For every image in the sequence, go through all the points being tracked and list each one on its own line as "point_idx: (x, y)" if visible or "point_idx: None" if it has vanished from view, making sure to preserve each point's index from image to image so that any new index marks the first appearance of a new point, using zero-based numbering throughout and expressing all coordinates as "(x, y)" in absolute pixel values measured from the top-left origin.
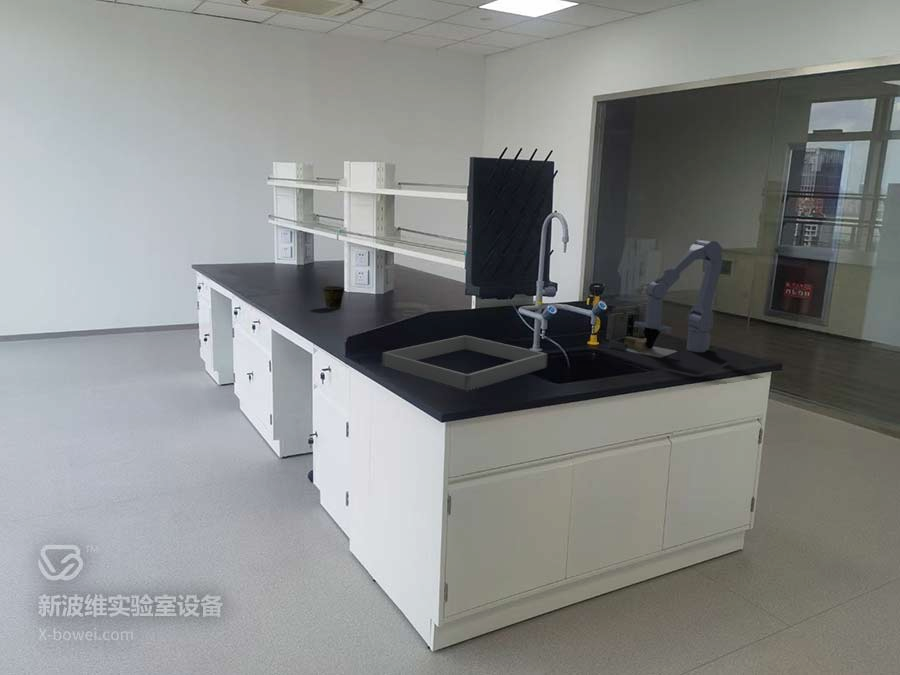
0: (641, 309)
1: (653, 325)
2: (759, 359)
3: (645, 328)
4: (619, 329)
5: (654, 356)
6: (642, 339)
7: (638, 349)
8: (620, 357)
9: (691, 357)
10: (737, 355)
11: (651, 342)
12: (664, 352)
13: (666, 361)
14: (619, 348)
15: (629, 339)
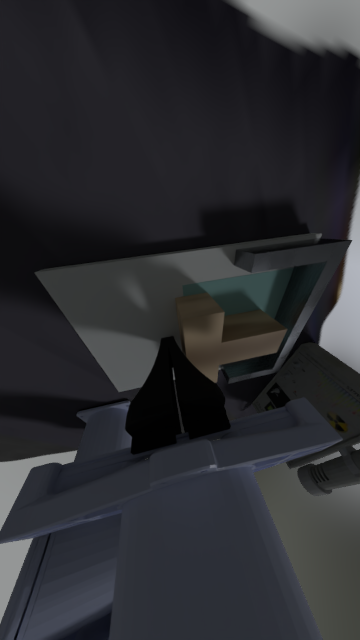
0: (303, 477)
1: (142, 509)
2: (18, 458)
3: (224, 421)
4: (310, 386)
5: (69, 268)
6: (215, 362)
7: (190, 297)
8: (202, 67)
9: (67, 388)
10: (62, 447)
11: (157, 356)
12: (121, 356)
13: (12, 279)
14: (266, 246)
15: (261, 330)
